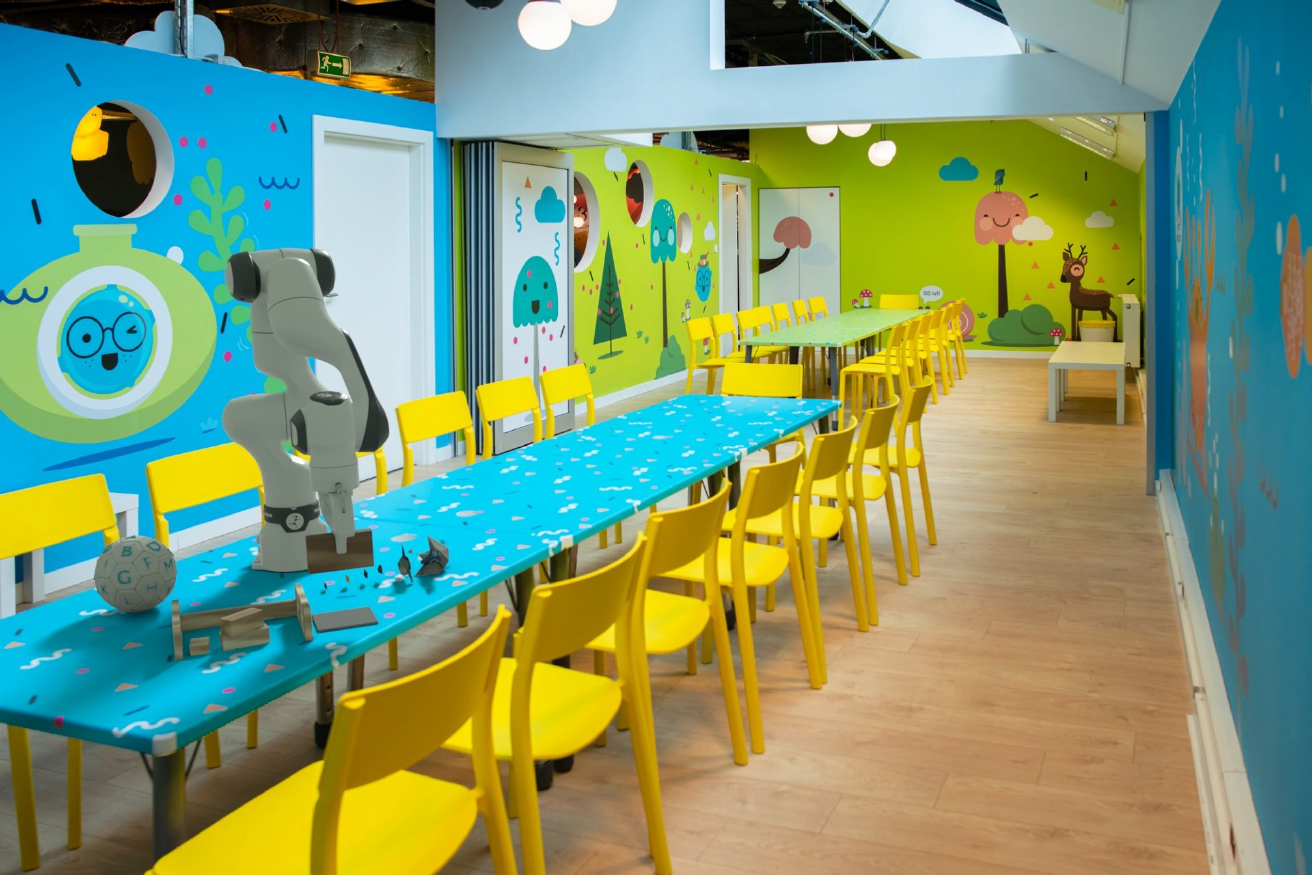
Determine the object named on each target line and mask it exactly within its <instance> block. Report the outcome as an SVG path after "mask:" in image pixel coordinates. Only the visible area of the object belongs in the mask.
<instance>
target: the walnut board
mask: <svg viewBox="0 0 1312 875" xmlns="http://www.w3.org/2000/svg"><path fill="white" fill-rule="evenodd" d="M305 540H306V553H307V566H308V569H307V572H308V575H310V576H311V575H316V574H318V575H319V574H324V573H332V572H341V571H348V570H356V569H363V568H370V567H371V568H372V567H375V558H374V557H375V556H374V543H373V530H372V529H371V527H370V528H369V527H368V528H361V529H355V535H354V536H353V537H347V542H346V548H347V551H346V553H342V554H338V553H337V551H336V544H335V543H336V540H335V536H334V534H333V533H331V532H328V533H324V534H315V535H307V536H305Z"/></svg>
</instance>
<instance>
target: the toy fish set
mask: <svg viewBox="0 0 1312 875" xmlns="http://www.w3.org/2000/svg"><path fill="white" fill-rule="evenodd" d="M436 547H437V546H436ZM404 548H405V547H404V546H403V543H401V557H400V558H399V560H398V562H397V568H398V570H399V574H400V575H401V576H403V577H405V576H407V575H408V577H409V579H410V582H411V584H414V580H413V576H412V573H411V570H412V568H411V567H412V565H411V560H410V558H409V557H408V556H407V555H406V551H405V549H404ZM429 551H430V552H429V554H428V555H427V556H426V557H425V558H423V559H422V558H421V560H420V565H422V566H423V564H424V563H425V564H424V566H425V565H427V564H430V563H434V562H436V560H437V559H438V560H439V561H440V555H438V550H437V554H436V553H434V552H433V551H432V549H431V550H430V549H429ZM436 563H439V562H436ZM439 564H440V563H439ZM422 566H421V567H422ZM424 566H423V567H424ZM440 566H441V567H442V568H444V567H443V566H442V565H441V564H440ZM421 567H420V568H421ZM423 567H422V568H423ZM422 568H421V574H423V573H422ZM444 569H445V568H444ZM377 572H378V573H379V574H380V575H382V574H383V573H384V572H383V566H382V564H378V566H377ZM368 575H369V572H368V571H367V569H363V576H364V578H365V579H368V578H369V576H368ZM345 581H346V582H347V583H348V584H350V582H351V581H350V577H349V576H348V575H347V573H345ZM323 586H324V587H323V588H325V590H327V589H328V585H327V583H326V582H324V581H323Z"/></svg>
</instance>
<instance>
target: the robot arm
mask: <svg viewBox="0 0 1312 875" xmlns="http://www.w3.org/2000/svg"><path fill="white" fill-rule="evenodd" d="M336 277H337V270H336V267H335V264H334V261H333V258H332V257H331V255H330V254H329V253H328V252H327V251H325V250H323V249H319V248H313V247H312V248H311V247H310V248H309V249H306V248H305V249H304V248H293V247H286V248H285V247H283V248H282V247H280V248H276V249H275V248H274V249H264V250H256V251H251V252H248V250H246V251H245V250H244V251H240V252H237V253H233V254H232V255H230V257H229V258H228V259H227V262H226V266H225V271H224V281H225V285H226V288H227V290H228V291H229V293H230V297H232V298H233V299H235V300H236V301H237V302H242V303H246V304H250V331H251V332H250V333H251V345H252V356H253V357H252V358H253V363H254V366H255V368H256V369H257V370H258V371H259V372H261V373H262V374H264V375H266V376H268V377H270V378H273V379H276V380H279V381H280V382H282V383H283V384H284V385H285V386H286V390H285V391H282V392H269V393H267V392H266V393H265V392H264V393H255V394H253V393H252V394H251V393H250V394H247V395H244V396H239V397H236V398H232V399H230V400H229V401H228V402H227V403H226V405H225V407H224V409H223V412H222V414H221V422H222V428H223V430H224V432H225V434H226V436H227V437H228V438H229V439H230V440H231V441H232V442H233V443H236V444H237V445H238V446H241V447H242V448H243V449H244V450H246V451H247V452H248V454H249V455H250V456H252V458H253V460H254V461H255V462H256V464H257V466H258V469H259V471H260V475H261V481H262V486H263V487H262V488H263V494H264V505H263V511H262V514H263V520H264V521H265V523H264V526H263V527H261V528H260V530H259V532H258V533H257V534H256V535H255V537H256V538H255V539H256V544H257V545H259V547H257V550H258V551H257V554H256V556H255V557H254V559H253V561H252V564H251V569H252V570H265V571H270V572H277V573H278V572H280V573H281V572H282V573H283V572H285V573H286V572H287V573H288V572H297V571H298V572H299V571H304V570H305V571H307V570H308V566H307V553H306V540H305V536H307V535H315V534H324V533H329V529H330V533H333V534H334V536H335V540H336V543H335V544H336V551H337V553H338V554H342V553H346V551H347V548H346V542H347V537H353V536H354V535H355V530H356V525H355V524H356V523H355V513H354V504H353V500H352V497H353V496H354V490H356V489H358V488H359V487H361V486H360V485H361V484H360V469H359V460H358V459H359V458H358V456H357V454H356V453H375V452H376V451H378V450H379V449H380V448H381V447H382V446H384V444H385V443H386V442H387V440H388V439H389V437H390V424H389V420H388V416H387V414H386V411H385V409H384V408H383V405H382V403H381V402H380V400H379V399H378V397H377V394H376V393H375V390H374V388H373V385H372V383H371V381H370V378H369V376H368V373H367V370H366V368H365V366H364V363H363V360H362V358H361V356H360V354H359V351H358V349H357V348H356V346H355V343H354V341H353V340H352V337H351V336H350V334H349V333H348V331H346V330H344V329H343V328H341V327H339V326H338V325H337V324H336V323H335V322H334V320H332V317H331V316H330V314H329V313H328V311H327V308H326V304H325V300H324V298H325V297H327V296H329V294H331V293H332V291H333V290H334V288H335V283H336V279H337V278H336ZM309 358H311V359H316V360H318V361H322V362H325V363H327V364H329V365H331V366H333V367H334V368H335V369H336V370H338V372H339V373H340V375H341V378H342V379H343V382H344V385H345V387H346V390H347V392H348V394H349V395H347V394H346V393H344V392H341V391H335V390H329V389H328V387H326V386H325V385H324V384H323V383H321V382H320V381H319V379H318V378H317V377H316V375H315V373H314V372H313V370H312V368H311V366H310V365H311V364H310V361H309ZM288 442H290V443H291V447H292V448H294V449H295V450H296V451H298V453H300V454H302V455H303V456H310V459H309V461H308V460H307V459H305V458H302V457H300V456H297V455H294V454H292V453H289V452H287V450H285V449H284V447H283V445H284V444H285V443H288ZM317 496H318V498H317ZM320 515H322V518H323V519H324V520H325V521H324V520H322V519H321V518H320Z"/></svg>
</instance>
